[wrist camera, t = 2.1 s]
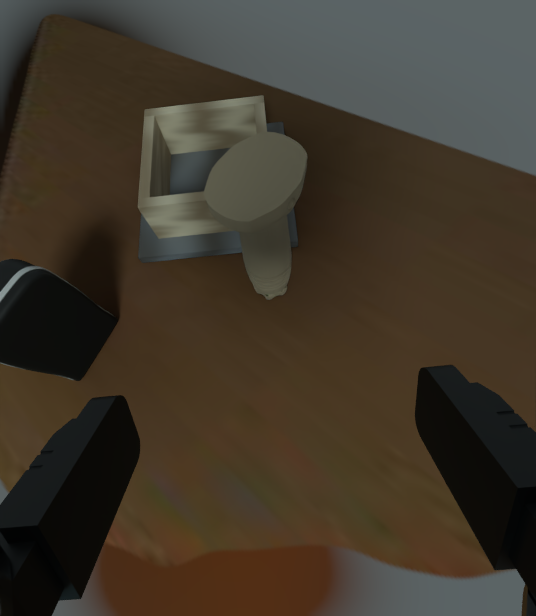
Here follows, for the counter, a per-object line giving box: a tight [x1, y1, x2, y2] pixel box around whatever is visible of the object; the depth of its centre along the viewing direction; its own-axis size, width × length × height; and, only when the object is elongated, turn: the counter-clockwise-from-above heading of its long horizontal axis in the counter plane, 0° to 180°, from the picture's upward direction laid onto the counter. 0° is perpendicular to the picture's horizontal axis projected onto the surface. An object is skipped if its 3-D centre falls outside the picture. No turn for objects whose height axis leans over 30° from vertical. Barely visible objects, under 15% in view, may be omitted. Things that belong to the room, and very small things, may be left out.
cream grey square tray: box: [138, 95, 298, 263], centre depth 35 cm, size 16×16×6 cm
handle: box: [203, 132, 307, 300], centre depth 26 cm, size 5×6×15 cm
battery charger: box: [0, 259, 118, 381], centre depth 27 cm, size 7×4×11 cm, turn 155°
